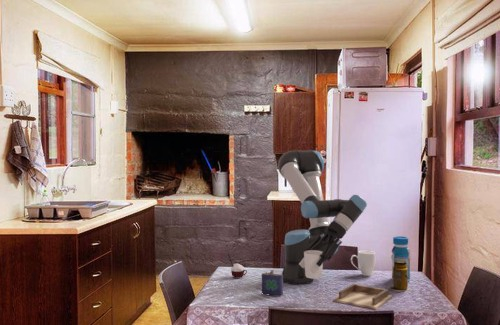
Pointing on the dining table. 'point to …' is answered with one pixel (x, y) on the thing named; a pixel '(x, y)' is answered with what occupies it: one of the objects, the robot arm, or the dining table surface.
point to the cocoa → (237, 269)
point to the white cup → (309, 259)
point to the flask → (272, 283)
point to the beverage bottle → (401, 252)
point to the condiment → (400, 276)
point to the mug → (365, 261)
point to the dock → (363, 296)
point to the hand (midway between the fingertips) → (306, 268)
